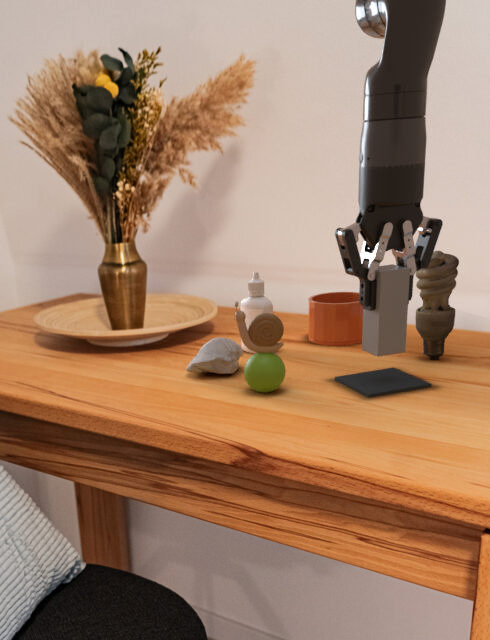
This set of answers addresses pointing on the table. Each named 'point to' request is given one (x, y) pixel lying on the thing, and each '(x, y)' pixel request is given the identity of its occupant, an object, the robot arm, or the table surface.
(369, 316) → the block
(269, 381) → the snail figurine
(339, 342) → the cup
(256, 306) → the eye dropper bottle
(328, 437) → the table surface
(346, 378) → the mat
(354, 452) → the table surface
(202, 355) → the pebble
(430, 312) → the light bulb
